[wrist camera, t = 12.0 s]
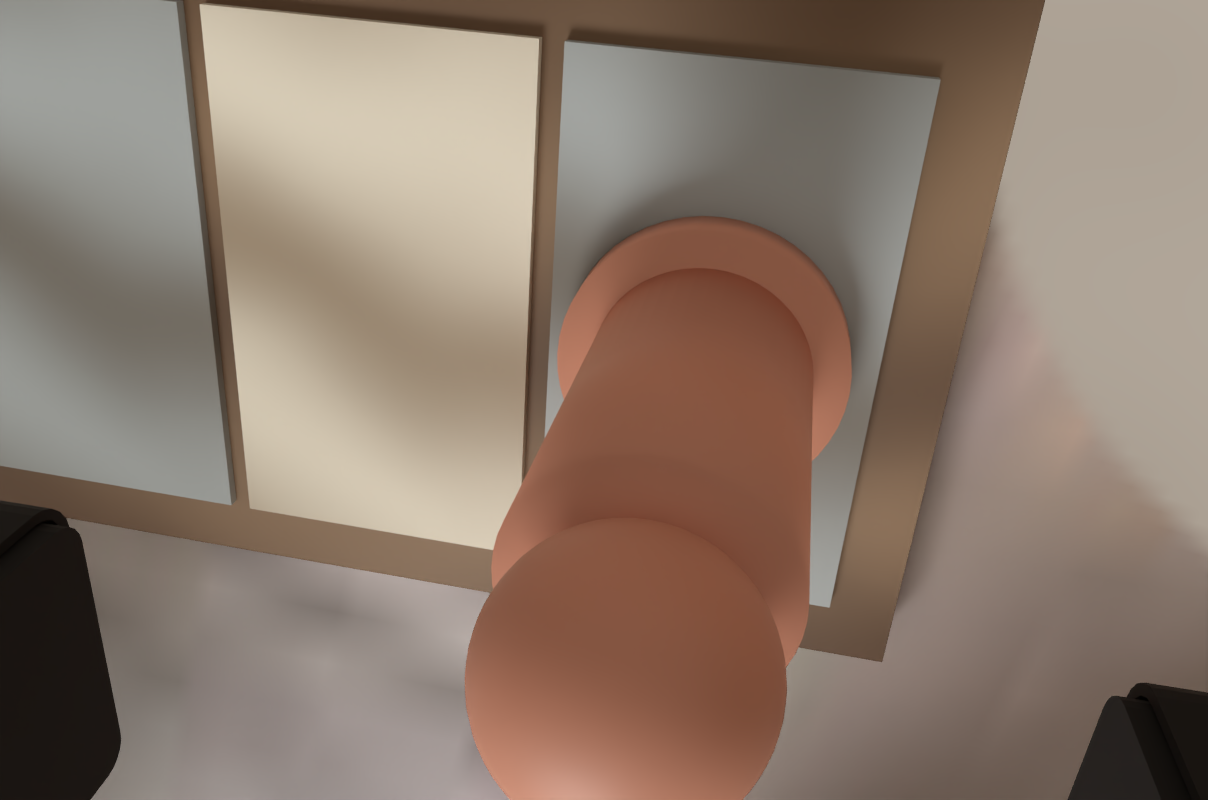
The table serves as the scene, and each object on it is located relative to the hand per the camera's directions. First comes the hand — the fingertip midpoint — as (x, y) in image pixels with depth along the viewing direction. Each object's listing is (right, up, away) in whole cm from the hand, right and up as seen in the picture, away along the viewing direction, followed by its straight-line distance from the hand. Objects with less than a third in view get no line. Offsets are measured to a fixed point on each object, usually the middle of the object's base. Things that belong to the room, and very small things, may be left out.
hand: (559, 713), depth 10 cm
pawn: (+2, +4, +8) cm, 9 cm away
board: (-6, +6, +10) cm, 13 cm away
